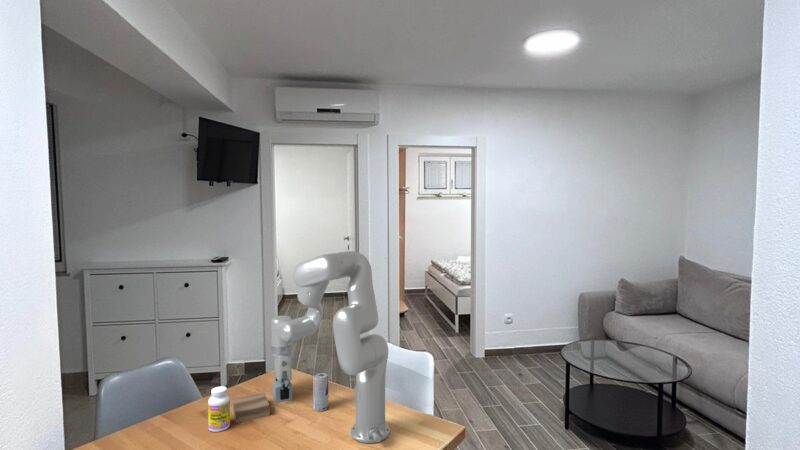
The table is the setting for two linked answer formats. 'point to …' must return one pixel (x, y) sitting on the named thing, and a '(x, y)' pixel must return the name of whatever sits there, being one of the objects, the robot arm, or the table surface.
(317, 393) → the energy drink
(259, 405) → the walnut block
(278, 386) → the slate cube
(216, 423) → the supplement bottle
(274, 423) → the table surface
